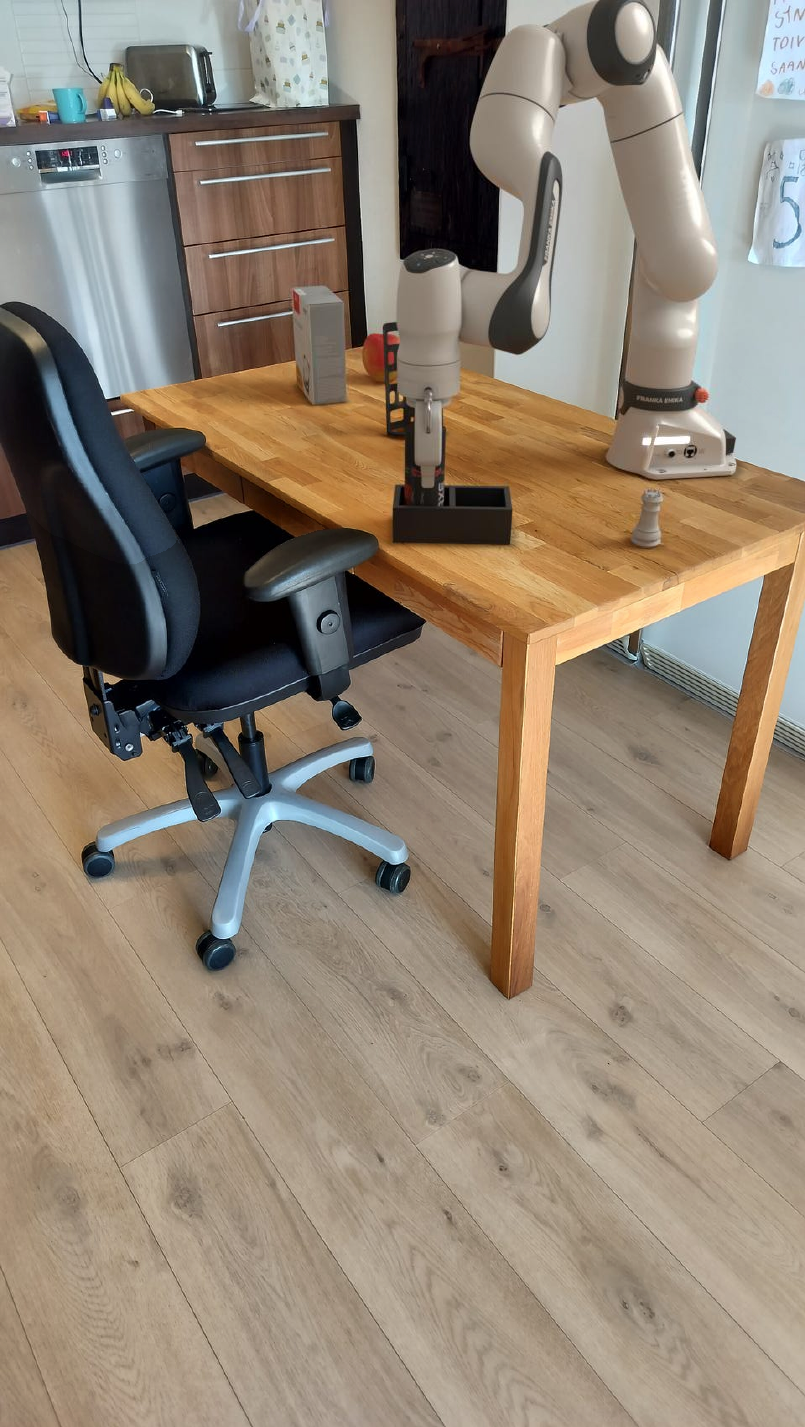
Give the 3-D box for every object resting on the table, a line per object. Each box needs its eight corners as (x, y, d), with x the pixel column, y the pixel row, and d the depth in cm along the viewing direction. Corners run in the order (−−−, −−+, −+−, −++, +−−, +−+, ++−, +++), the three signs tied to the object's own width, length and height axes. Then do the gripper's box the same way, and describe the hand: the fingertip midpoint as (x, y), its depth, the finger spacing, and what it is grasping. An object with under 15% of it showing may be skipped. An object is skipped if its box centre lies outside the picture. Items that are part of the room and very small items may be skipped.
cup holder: (395, 518, 156) (395, 484, 153) (506, 520, 155) (509, 486, 152) (392, 543, 148) (392, 507, 145) (510, 545, 148) (512, 509, 145)
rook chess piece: (656, 536, 150) (664, 485, 146) (663, 548, 147) (672, 497, 142) (627, 536, 150) (634, 486, 146) (633, 549, 147) (641, 497, 142)
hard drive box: (295, 385, 215) (290, 286, 204) (330, 382, 217) (326, 284, 206) (312, 406, 203) (307, 302, 192) (348, 402, 205) (345, 300, 194)
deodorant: (439, 535, 149) (442, 436, 140) (400, 531, 150) (401, 433, 141) (446, 519, 153) (449, 423, 145) (408, 516, 154) (409, 420, 146)
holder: (390, 440, 185) (388, 326, 175) (380, 432, 191) (378, 321, 182) (447, 436, 187) (448, 323, 178) (435, 428, 194) (435, 318, 184)
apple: (375, 389, 213) (374, 341, 207) (355, 378, 220) (354, 331, 214) (414, 383, 217) (415, 335, 211) (393, 372, 224) (393, 326, 218)
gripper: (452, 401, 130) (450, 501, 138) (450, 359, 147) (448, 450, 155) (404, 401, 130) (405, 501, 138) (407, 359, 147) (408, 450, 155)
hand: (428, 474), depth 147 cm, fingers open, 8 cm apart
